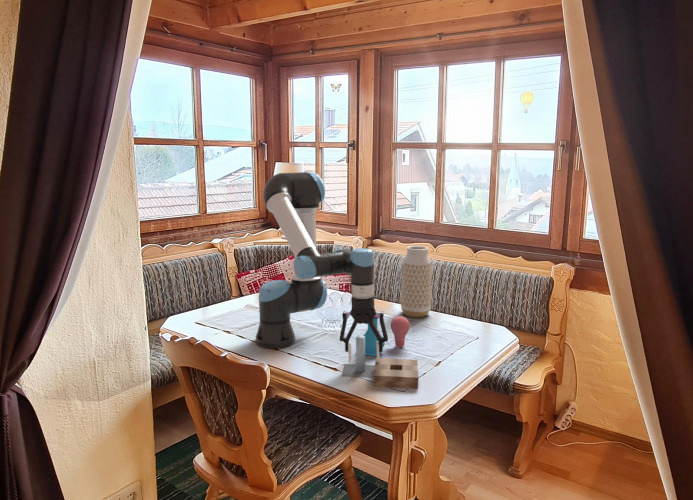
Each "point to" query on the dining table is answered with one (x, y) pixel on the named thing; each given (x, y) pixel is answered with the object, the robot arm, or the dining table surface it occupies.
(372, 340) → the perfume bottle
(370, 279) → the robot arm
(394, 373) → the hole block
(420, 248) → the vase
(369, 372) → the mat
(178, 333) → the dining table surface
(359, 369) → the peg
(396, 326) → the light bulb
